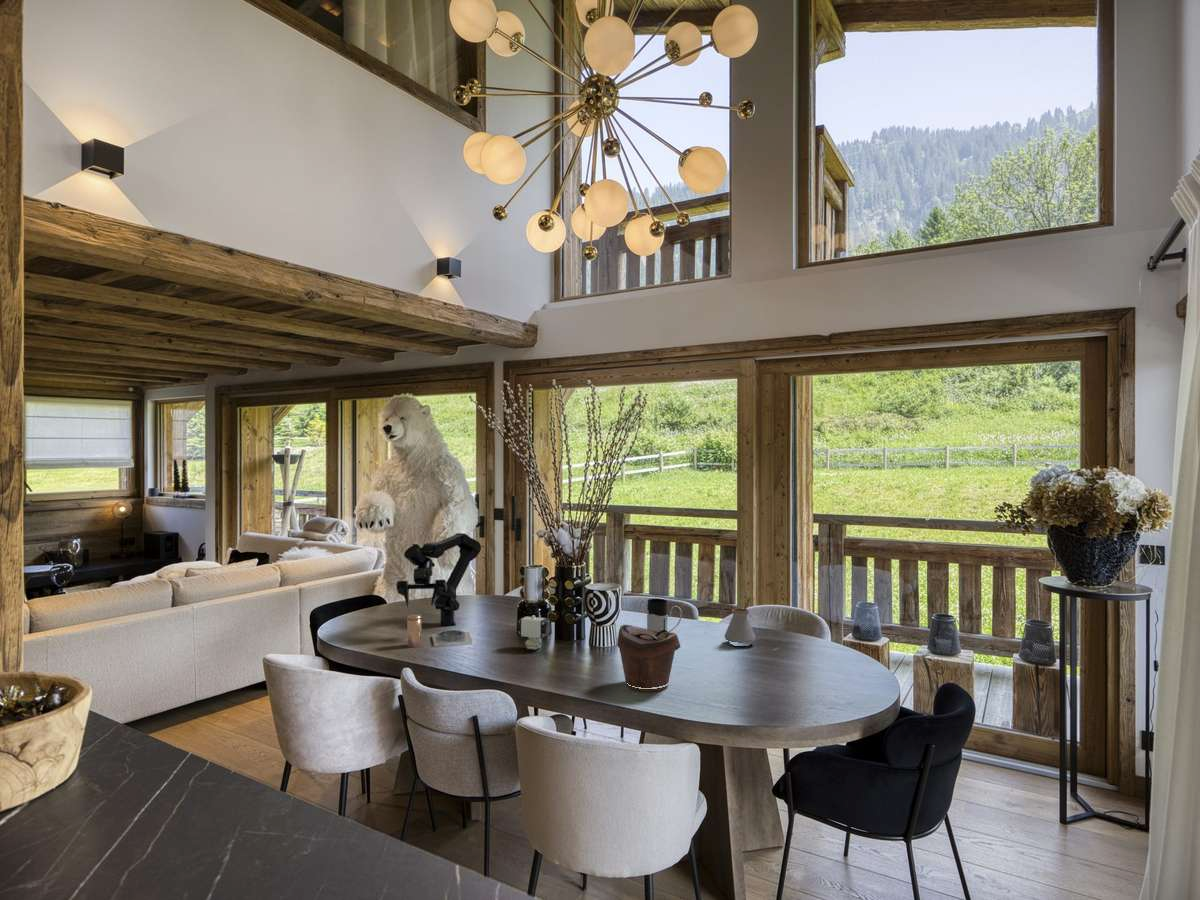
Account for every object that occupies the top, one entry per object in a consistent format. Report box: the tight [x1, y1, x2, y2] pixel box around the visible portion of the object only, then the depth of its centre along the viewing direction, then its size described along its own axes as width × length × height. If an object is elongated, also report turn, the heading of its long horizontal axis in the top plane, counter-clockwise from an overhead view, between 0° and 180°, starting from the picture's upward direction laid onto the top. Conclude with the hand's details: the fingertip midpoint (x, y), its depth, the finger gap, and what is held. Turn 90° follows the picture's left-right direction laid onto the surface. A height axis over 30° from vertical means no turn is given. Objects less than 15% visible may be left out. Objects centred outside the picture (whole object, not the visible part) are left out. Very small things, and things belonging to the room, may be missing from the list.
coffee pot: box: [724, 597, 757, 643], centre depth 263 cm, size 21×12×15 cm, turn 154°
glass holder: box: [646, 598, 683, 633], centre depth 264 cm, size 9×14×15 cm, turn 64°
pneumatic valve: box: [515, 615, 551, 651], centre depth 253 cm, size 6×12×12 cm, turn 72°
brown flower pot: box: [617, 624, 681, 693], centre depth 212 cm, size 18×20×18 cm
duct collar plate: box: [431, 629, 473, 647], centre depth 263 cm, size 14×14×2 cm
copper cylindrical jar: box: [406, 613, 423, 648], centre depth 255 cm, size 5×5×11 cm
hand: (419, 605), depth 263 cm, fingers open, 9 cm apart
